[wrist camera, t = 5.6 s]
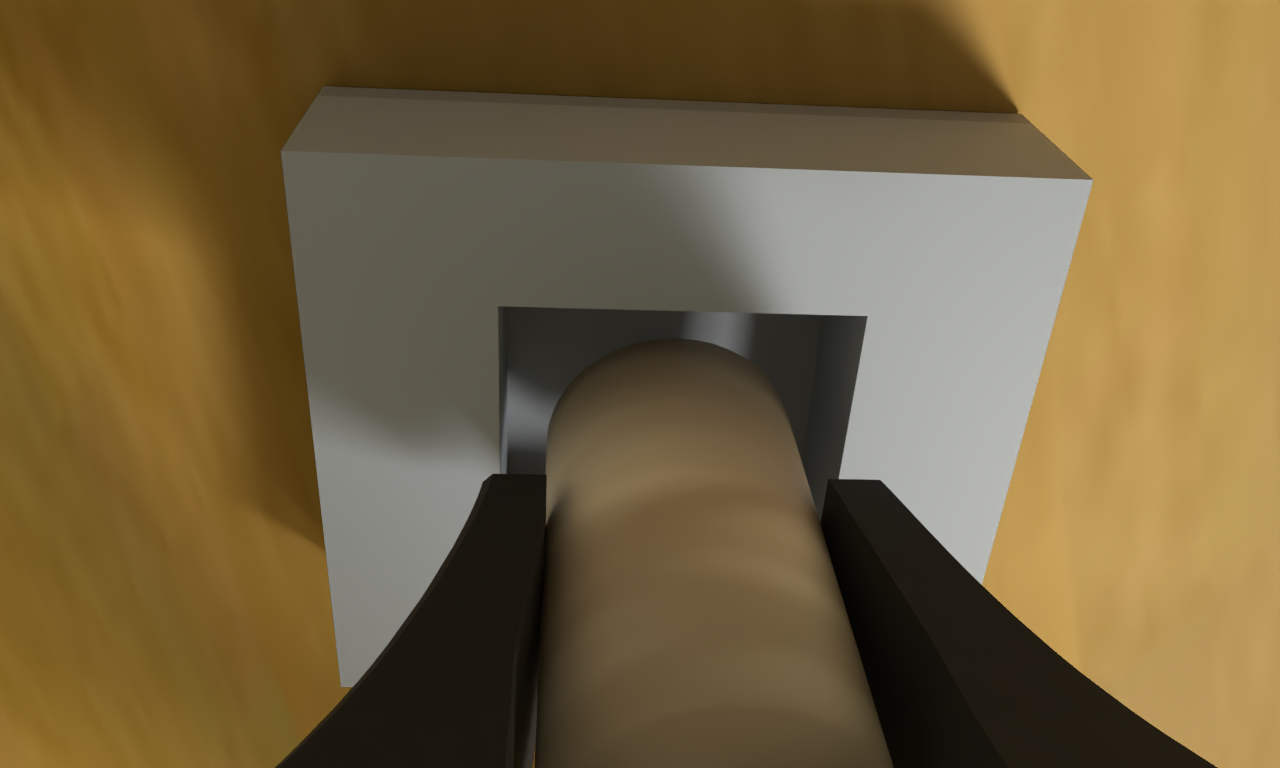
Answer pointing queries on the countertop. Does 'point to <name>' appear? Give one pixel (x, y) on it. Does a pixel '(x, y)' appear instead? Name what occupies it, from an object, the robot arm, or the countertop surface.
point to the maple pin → (690, 578)
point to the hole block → (658, 297)
